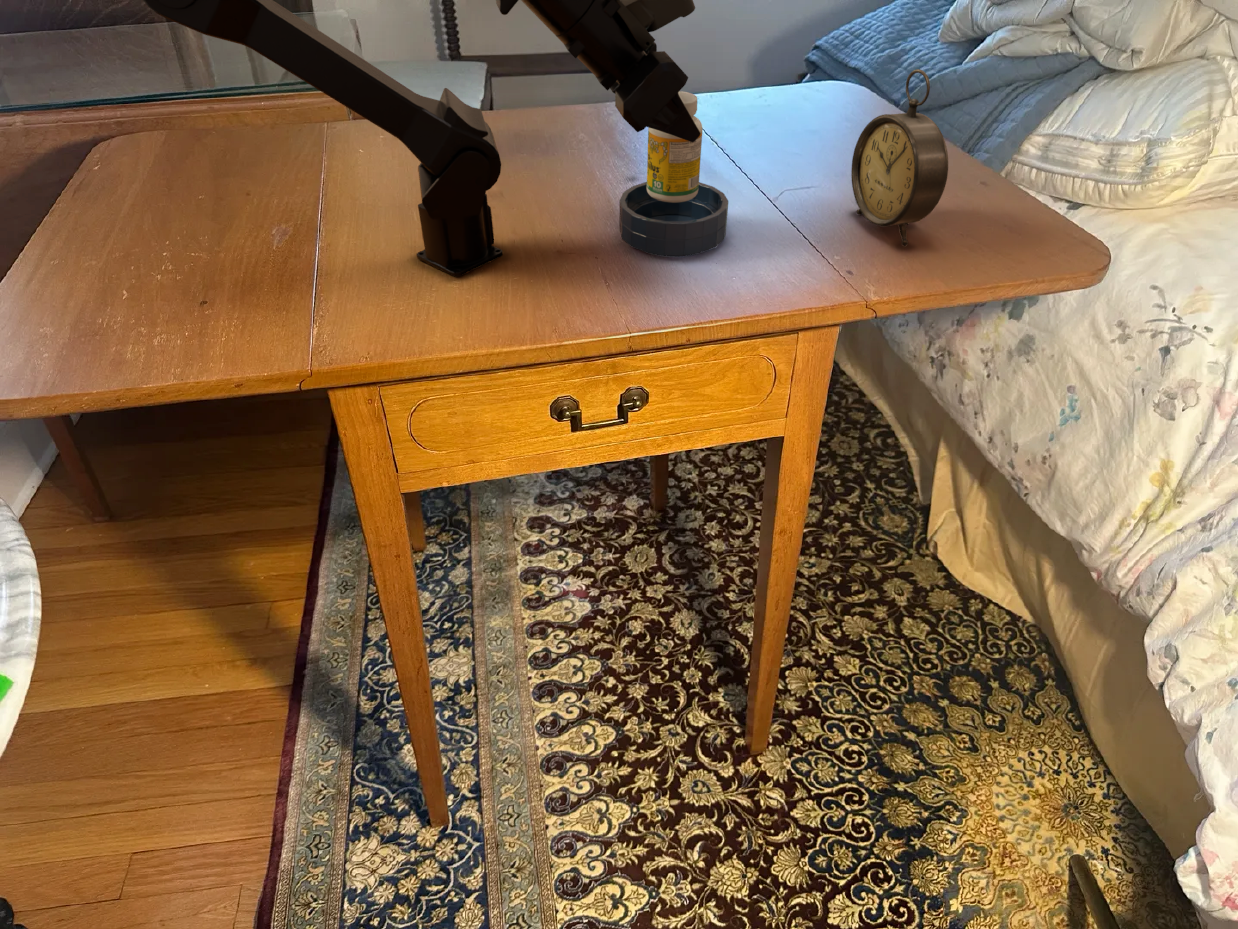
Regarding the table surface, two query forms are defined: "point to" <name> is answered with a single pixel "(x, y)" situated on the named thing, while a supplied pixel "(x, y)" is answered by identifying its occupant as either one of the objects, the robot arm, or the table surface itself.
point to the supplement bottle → (674, 161)
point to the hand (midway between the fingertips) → (688, 127)
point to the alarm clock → (899, 167)
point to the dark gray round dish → (673, 222)
